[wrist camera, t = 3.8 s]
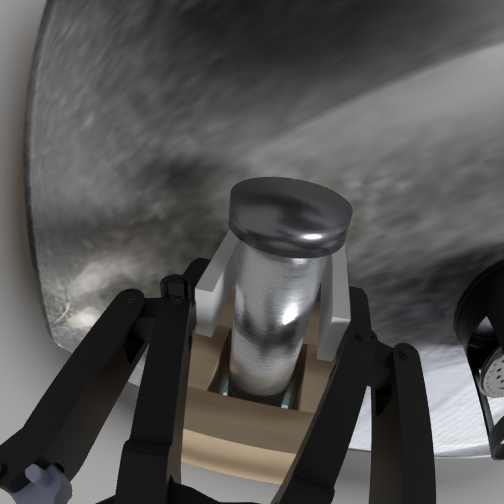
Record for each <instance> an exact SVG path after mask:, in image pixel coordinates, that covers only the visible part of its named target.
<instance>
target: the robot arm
mask: <svg viewBox="0 0 504 504" xmlns="http://www.w3.org/2000/svg"><path fill="white" fill-rule="evenodd" d="M239 247H240V239H238V238H237V237H236V236H235V235H234V234H233V232H232V231H231V229H229V231H228V233H227V234H226V236H225V238H224V239H223V241H222V243H221V244H220V246H219V248H218V250H217V251H216V253H215V255H214V256H213V258H212V260H208V259H203V258H197V259H196V260H194V261H192V262H191V264H190V265H189V267H188V268H187V270H186V271H185V273H184V274H183V275H179V274H173V275H169V276H166V277H164V278H163V279H162V280H161V282H160V287H161V296H162V297H160V298H144V294H143V293H142V292H141V291H140V290H137V289H126V290H124V291H121V292H120V293H119V294H118V295H117V296H116V297H115V299H114V300H113V301H112V302H111V304H110V305H109V306H108V307H107V309H106V310H105V311H104V313H103V314H102V315H101V316H100V318H99V319H98V320H97V322H96V323H95V324H94V326H93V327H92V328H91V330H90V331H89V332H88V333H87V335H86V336H85V337H84V339H83V340H82V342H81V343H80V344H79V346H78V347H77V348H76V350H75V351H74V352H73V354H72V355H71V357H70V358H69V359H68V361H67V362H66V364H65V365H64V366H63V368H62V369H61V371H60V372H59V374H58V375H57V376H56V378H55V379H54V381H53V382H52V384H51V385H50V386H49V388H48V389H47V391H46V393H45V394H44V395H43V397H42V398H41V400H40V401H39V403H38V404H37V406H36V408H35V409H34V411H33V412H32V414H31V415H30V417H29V418H28V420H27V422H26V423H25V425H24V427H23V428H21V429H20V430H19V431H18V432H16V433H15V434H14V435H13V436H11V437H10V438H9V439H8V440H6V441H5V442H4V443H3V444H1V445H0V488H1V489H3V490H5V491H6V492H8V493H9V494H10V495H11V496H12V498H13V499H14V501H15V502H16V503H17V504H67V502H68V501H69V499H71V497H72V486H71V483H70V481H71V480H72V479H73V478H74V476H75V475H76V474H77V473H78V471H79V470H80V468H81V466H82V465H83V463H84V461H85V459H86V457H87V455H88V453H89V451H90V449H91V448H92V446H93V444H94V442H95V440H96V438H97V436H98V434H99V432H100V430H101V429H102V427H103V425H104V423H105V421H106V419H107V417H108V416H109V414H110V412H111V410H112V408H113V406H114V404H115V403H116V401H117V399H118V397H119V395H120V394H121V392H122V390H123V388H124V386H125V384H126V383H127V381H128V379H129V377H130V376H131V374H132V372H133V370H134V369H135V367H136V365H137V363H138V362H139V360H140V358H141V356H142V355H143V353H144V351H145V349H146V348H147V346H148V344H149V342H150V344H149V349H148V353H147V357H146V361H145V366H144V370H143V375H142V379H141V384H140V389H139V394H138V398H137V403H136V409H135V414H134V419H133V424H132V429H131V435H130V438H129V440H127V441H126V442H125V444H124V446H123V450H122V455H121V461H120V468H119V473H118V480H117V487H116V494H115V495H114V496H112V497H109V498H107V499H105V500H103V501H100V502H98V503H96V504H259V503H253V502H240V503H238V502H237V503H236V502H235V503H231V502H229V503H228V502H226V503H225V502H218V501H216V500H214V499H212V498H210V497H208V496H206V495H204V494H202V493H201V492H199V491H197V490H195V489H193V488H191V487H188V486H185V485H182V484H181V454H182V441H183V429H184V417H185V407H186V396H187V386H188V377H189V368H190V359H191V350H192V342H193V334H192V333H193V331H194V329H195V327H196V334H200V335H204V336H208V337H212V335H213V333H214V331H215V328H216V326H217V324H218V321H219V319H220V316H221V314H222V312H223V309H224V307H225V305H226V302H227V300H228V297H229V295H230V293H231V290H232V288H233V286H234V283H235V281H236V279H237V269H238V258H239ZM335 356H336V363H335V365H334V367H333V369H332V371H331V373H330V375H329V380H328V382H327V385H326V387H325V390H324V392H323V395H322V397H321V400H320V402H319V405H318V407H317V409H316V412H315V414H314V417H313V419H312V421H311V423H310V426H309V428H308V430H307V432H306V435H305V437H304V439H303V441H302V443H301V446H300V448H299V450H298V452H297V454H296V456H295V458H294V460H293V462H292V464H291V466H290V468H289V470H288V472H287V474H286V476H285V478H284V480H283V482H282V484H281V486H280V488H279V490H278V492H277V493H276V495H275V497H274V498H273V500H272V501H271V503H270V504H331V502H332V500H333V497H334V492H335V490H334V485H335V482H336V479H337V477H338V474H339V471H340V469H341V466H342V464H343V461H344V458H345V455H346V452H347V450H348V447H349V444H350V441H351V438H352V435H353V432H354V429H355V425H356V422H357V419H358V416H359V412H360V409H361V405H362V402H363V398H364V395H365V391H366V387H367V386H369V387H371V414H372V442H371V475H370V493H369V504H436V482H435V465H434V451H433V440H432V431H431V422H430V415H429V407H428V401H427V394H426V388H425V382H424V377H423V371H422V366H421V361H420V356H419V353H418V351H417V350H416V349H415V348H414V347H413V346H411V345H410V344H406V343H399V344H396V345H395V347H394V348H392V347H390V346H388V345H385V344H383V343H381V342H380V341H378V340H377V335H376V334H375V332H374V331H373V330H372V329H371V321H370V313H369V305H368V298H367V295H366V293H365V292H364V290H363V289H360V288H355V287H349V286H348V274H347V262H346V252H345V243H344V245H343V246H342V248H341V249H340V250H338V251H337V252H335V253H333V254H331V255H328V257H327V261H326V265H325V269H324V272H323V276H322V280H321V302H320V320H319V336H318V350H317V359H318V360H324V361H330V362H333V360H334V358H335Z"/></svg>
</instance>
